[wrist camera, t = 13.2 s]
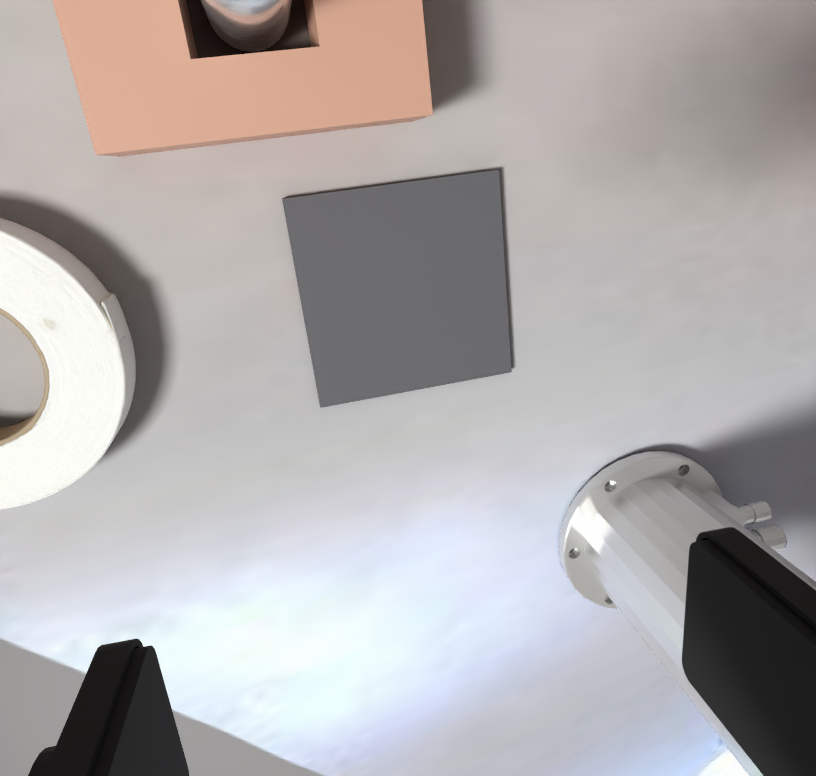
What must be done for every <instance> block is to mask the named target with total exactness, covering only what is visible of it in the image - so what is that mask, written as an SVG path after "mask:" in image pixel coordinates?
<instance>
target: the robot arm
mask: <svg viewBox="0 0 816 776" xmlns="http://www.w3.org/2000/svg"><path fill="white" fill-rule="evenodd" d="M771 517H772V510H771V508H770V506H769V504H768V503H767V502H765V501H762V500H761V501H757V502H753V503H749V504H745V505H744V506H740V507H736V506H735V505H732V504H730V503H729V502H728V501H726V500H725V499H724V498H722V494H721V491H720V488H719V486H718V484H717V483H716V481H715V480H714V478H713V476H712V475H711V474H710V473H709V472H707V471H706V470H705V469H704V468H703V467H702V466H700V465H699V464H697V463H696V462H695V461H693V460H692V459H690V458H687V457H685V456H683V455H680V454H678V453H672V452H667V451H648V452H644V453H639V454H634V455H631V456H629V457H626V458H624V459H621V460H619V461H616V462H615V463H613V464H611V465H610V466H608V467H606V468H605V469H603V470H602V471H600V472H599V473H598V474H597V475H596V476H594V477H593V478H592V479H591V480H590V481H588V483H587V484H586V485H585V486H584V487H583V488H582V489H581V490H580V492H579V493H578V494H577V495H576V497H575V498H574V500H573V502H572V503H571V505H570V506H569V508H568V510H567V512H566V515H565V517H564V520H563V522H562V525H561V530H560V534H559V551H558V552H559V557H560V562H561V566H562V568H563V570H564V572H565V574H566V577H567V578H568V579H569V581H570V582H571V583H572V585H573V586H574V588H575V589H576V590H577V591H578V592H579V593H580V594H581V595H582V596H583V597H584V598H586V599H588V600H590V601H591V602H593V603H595V604H597V605H600V606H603V607H607V608H616V609H619V610H620V611H621V613H622V614H623V615H624V617H625V618H626V619H627V620H628V622H629V623H630V624H631V625H632V627H633V628H634V629H635V631H636V632H637V633H638V634H639V636H640V637H641V638H642V640H643V641H644V642H645V643H646V645H647V646H648V647H649V648H650V650H651V651H652V652H653V654H654V655H655V656H656V657H657V659H658V660H659V661H660V662H661V664H662V665H663V666H664V668H665V669H666V670H667V671H668V673H669V674H670V675H671V676H672V678H673V679H674V680H675V682H676V683H677V684H678V685H679V687H680V688H681V689H682V691H683V692H684V693H685V694H686V696H687V697H688V698H689V699H690V701H691V702H692V703H693V705H694V706H695V707H696V708H697V710H698V711H699V712H700V713H701V715H702V716H703V717H704V719H705V720H706V721H707V722H708V724H709V725H710V726H711V727H712V729H713V730H714V731H715V733H716V734H717V735H718V736H719V738H720V739H721V740H722V742H723V743H724V744H725V745H726V747H727V748H728V749H729V750H730V752H731V753H732V754H733V755H734V757H735V758H736V759H737V761H738V762H739V763H740V764H741V766H742V767H743V768H744V769H745V771H746V772H747V773H748V774H749V775H750V776H816V582H815V581H814V580H813V579H811V578H810V577H809V576H807V575H806V574H805V573H803V572H802V571H801V570H799V569H798V568H797V567H795V566H794V565H793V564H792V563H790V562H789V561H788V560H786V559H785V558H784V557H782V556H781V555H780V554H778V553H777V552H776V551H780V550H783V549H784V548H786V544H787V540H786V536H785V534H784V532H783V530H782V529H781V528H780V527H779V526H778V525H776V524H774V523H772V524H768V525H763V526H759V527H755V528H751V529H748V530H747V529H746V528H745V524H748V523H757V522H761V521H765V520H769V519H771ZM28 776H189V771H188V766H187V763H186V759H185V756H184V752H183V748H182V745H181V741H180V737H179V734H178V730H177V727H176V723H175V720H174V716H173V712H172V709H171V705H170V702H169V698H168V695H167V691H166V687H165V684H164V680H163V677H162V673H161V670H160V666H159V662H158V659H157V655H156V652H155V649H154V648H153V646H146V647H143V645H142V643H141V641H140V640H139V639H132V640H127V641H122V642H116V643H111V644H106V645H101V646H100V647H98V649H97V651H96V652H95V655H94V657H93V659H92V662H91V664H90V667H89V669H88V671H87V674H86V676H85V679H84V681H83V683H82V686H81V688H80V690H79V693H78V695H77V698H76V700H75V702H74V705H73V707H72V709H71V712H70V714H69V717H68V719H67V721H66V724H65V726H64V728H63V731H62V733H61V736H60V738H59V740H58V743H57V745H56V746H53V747H48V748H45V749H44V750H43V751H42V752H41V753H40V754H39V755H38V757H37V759H36V760H35V762H34V764H33V766H32V768H31V771H30V773H29V775H28Z"/></svg>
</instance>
